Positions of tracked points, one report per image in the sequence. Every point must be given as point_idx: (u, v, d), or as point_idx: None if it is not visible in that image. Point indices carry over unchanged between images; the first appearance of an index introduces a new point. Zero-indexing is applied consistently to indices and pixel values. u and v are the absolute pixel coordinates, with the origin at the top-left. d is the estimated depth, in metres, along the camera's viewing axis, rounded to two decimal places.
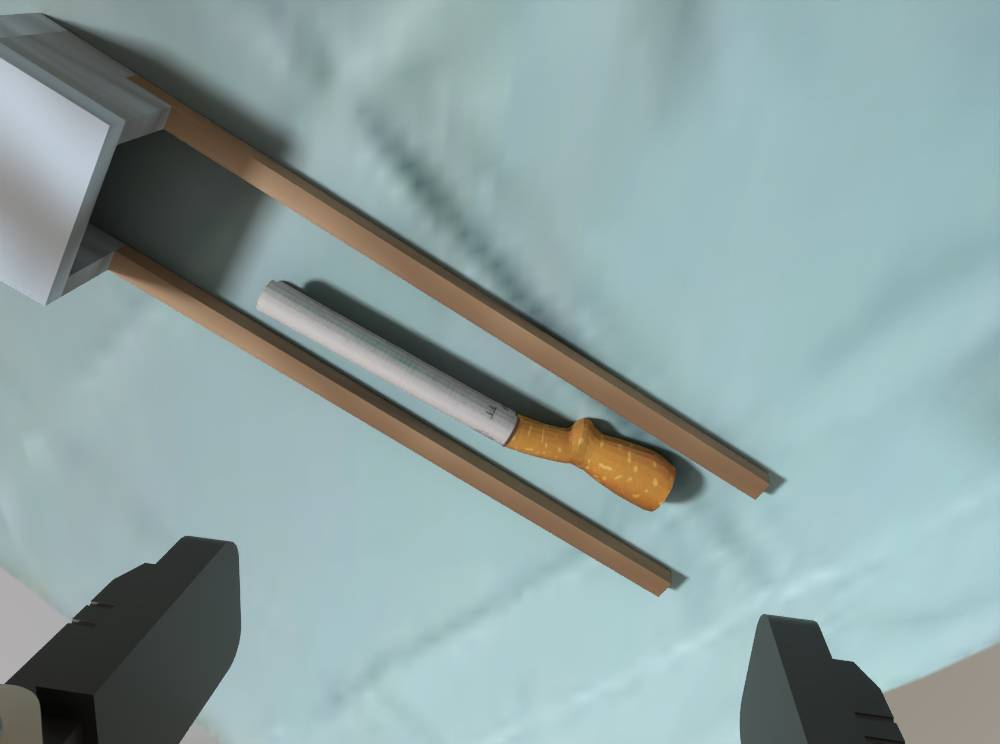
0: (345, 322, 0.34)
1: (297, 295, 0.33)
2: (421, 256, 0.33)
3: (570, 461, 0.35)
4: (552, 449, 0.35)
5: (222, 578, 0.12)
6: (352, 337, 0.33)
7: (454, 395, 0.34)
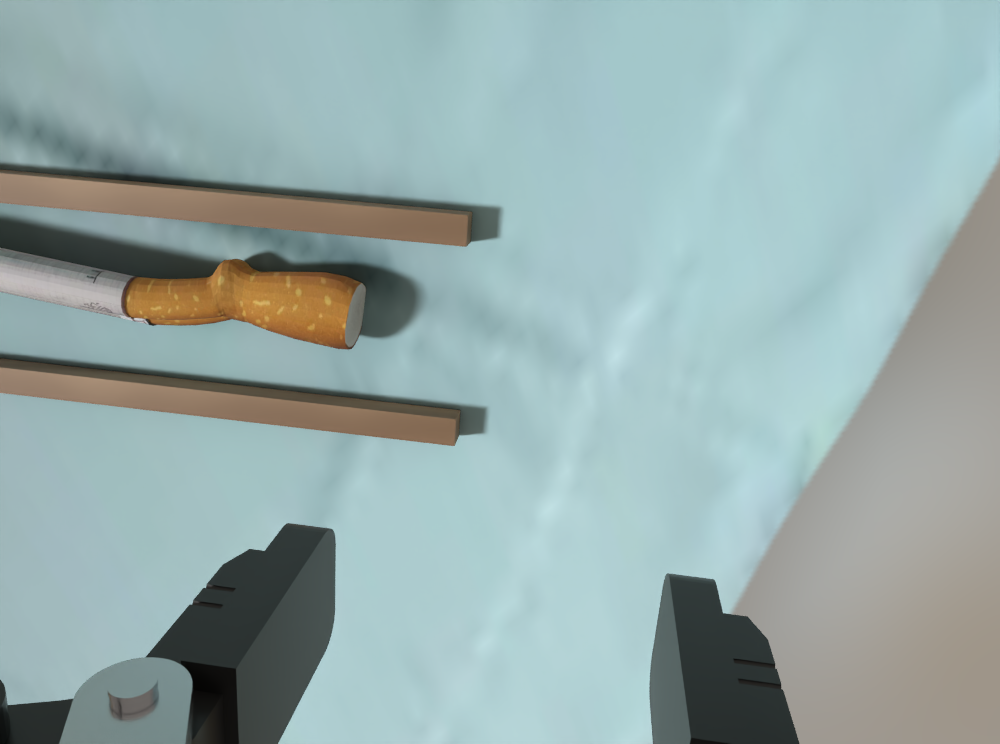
0: None
1: None
2: None
3: (219, 311, 0.27)
4: (186, 300, 0.27)
5: (323, 563, 0.13)
6: None
7: (42, 268, 0.27)
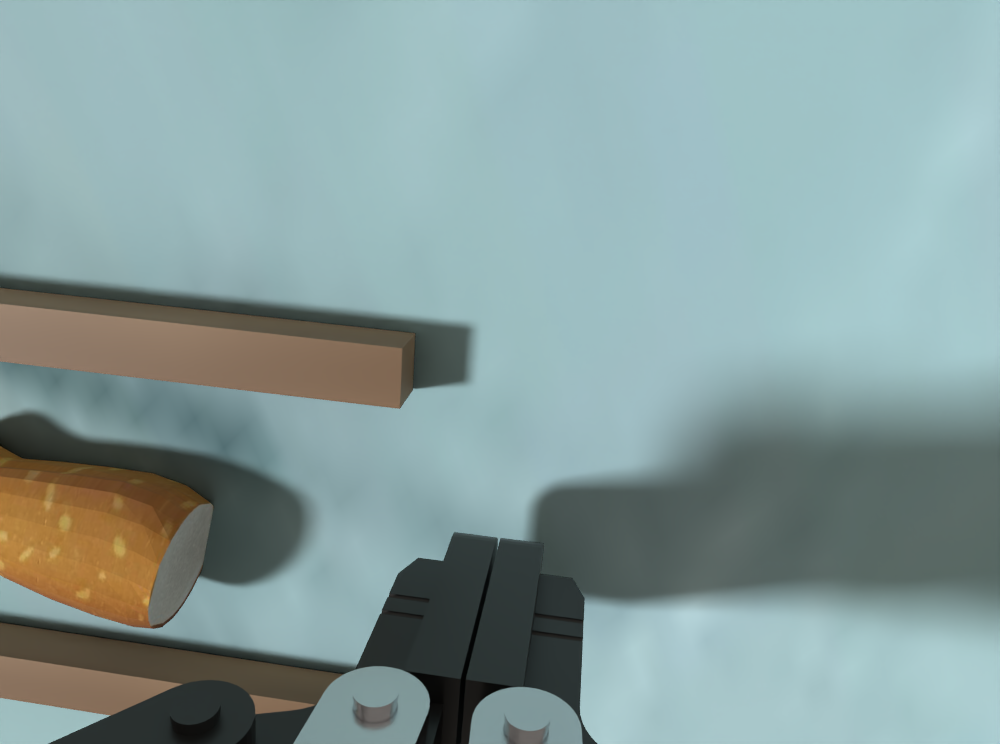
0: None
1: None
2: None
3: None
4: None
5: None
6: None
7: None
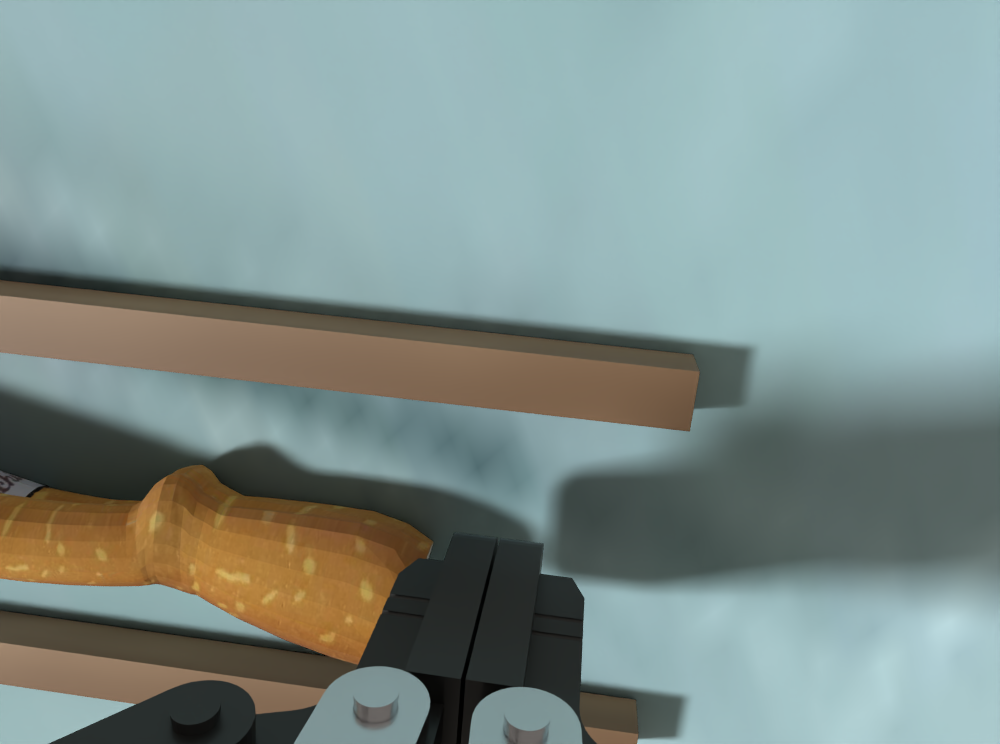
0: None
1: None
2: None
3: (147, 579, 0.14)
4: (81, 557, 0.13)
5: None
6: None
7: None
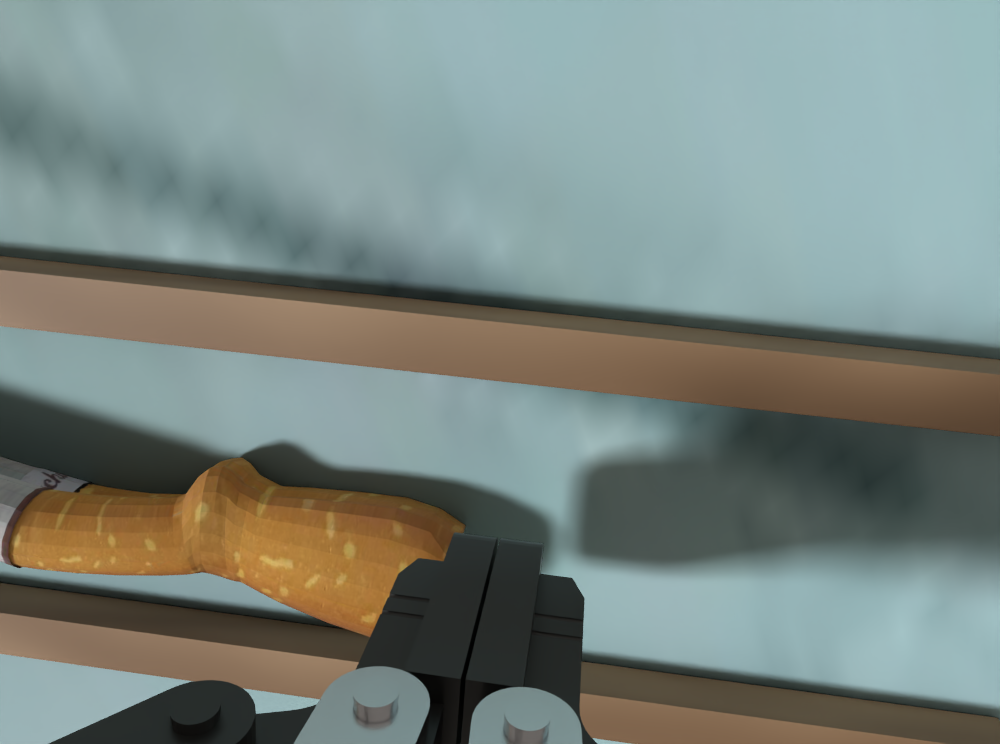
0: None
1: None
2: (60, 265, 0.14)
3: (193, 568, 0.14)
4: (131, 547, 0.14)
5: None
6: None
7: None
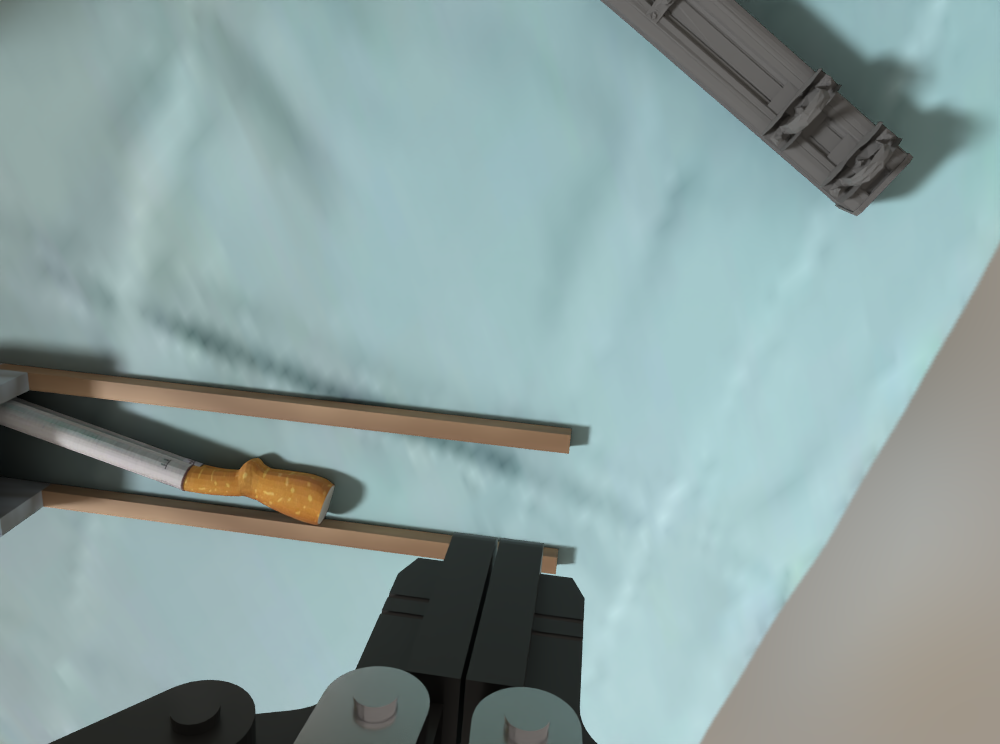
0: (44, 413, 0.43)
1: None
2: (233, 391, 0.43)
3: (241, 493, 0.43)
4: (221, 485, 0.43)
5: None
6: (47, 423, 0.43)
7: (133, 455, 0.42)
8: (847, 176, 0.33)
